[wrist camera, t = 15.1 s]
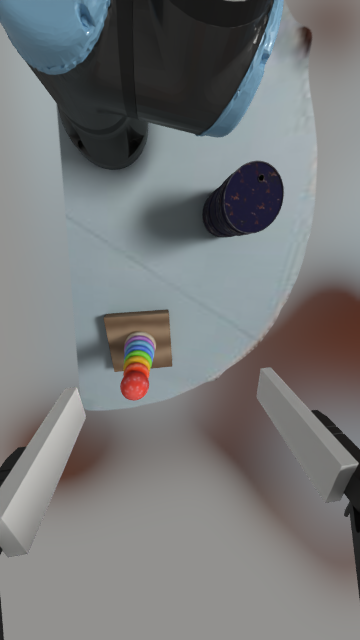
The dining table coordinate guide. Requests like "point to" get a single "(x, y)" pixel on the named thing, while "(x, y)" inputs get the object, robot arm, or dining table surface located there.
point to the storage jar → (245, 201)
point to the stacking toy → (137, 364)
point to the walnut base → (142, 321)
